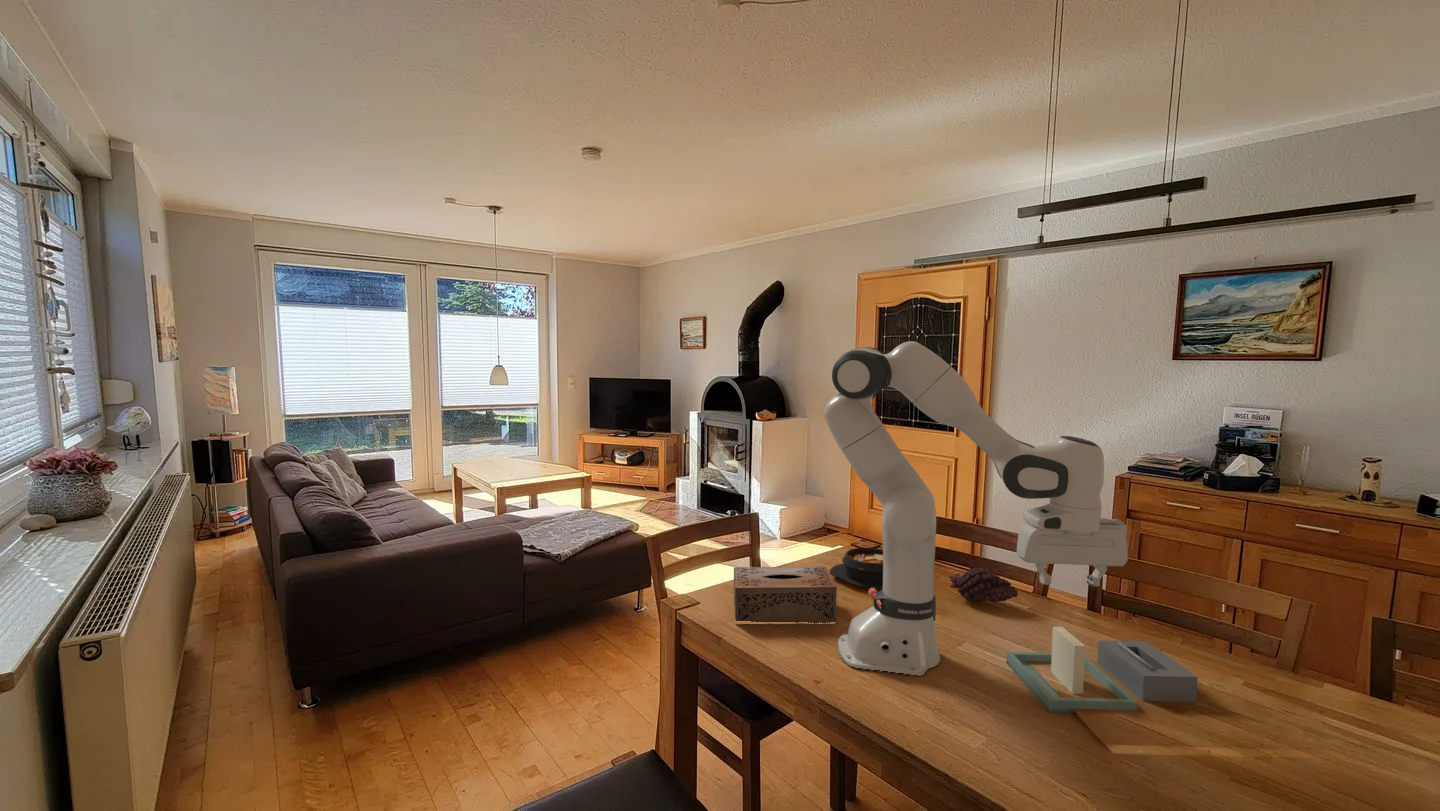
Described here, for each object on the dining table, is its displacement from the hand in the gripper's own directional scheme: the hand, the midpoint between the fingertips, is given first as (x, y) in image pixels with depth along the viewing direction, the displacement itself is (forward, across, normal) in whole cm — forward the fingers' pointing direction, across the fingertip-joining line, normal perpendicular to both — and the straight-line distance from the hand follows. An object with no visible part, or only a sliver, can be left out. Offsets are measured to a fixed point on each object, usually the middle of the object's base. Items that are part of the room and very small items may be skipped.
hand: (1069, 584), depth 114 cm
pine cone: (+22, 0, -40) cm, 46 cm away
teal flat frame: (+22, -1, 0) cm, 22 cm away
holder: (+21, -17, -1) cm, 27 cm away
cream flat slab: (+21, -1, 0) cm, 21 cm away
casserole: (+23, +27, -55) cm, 65 cm away
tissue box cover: (+24, +55, -33) cm, 68 cm away
